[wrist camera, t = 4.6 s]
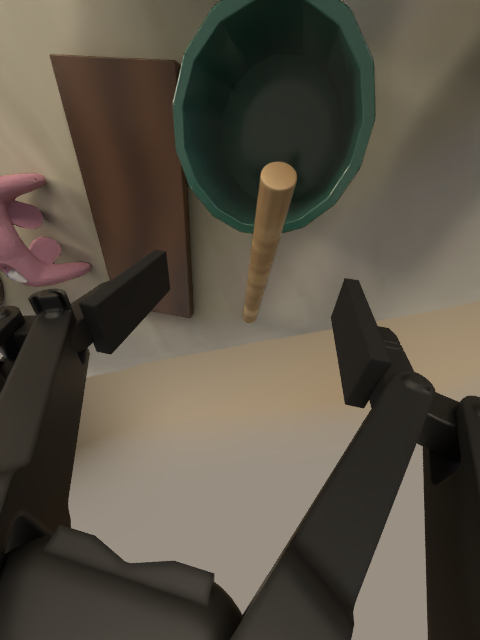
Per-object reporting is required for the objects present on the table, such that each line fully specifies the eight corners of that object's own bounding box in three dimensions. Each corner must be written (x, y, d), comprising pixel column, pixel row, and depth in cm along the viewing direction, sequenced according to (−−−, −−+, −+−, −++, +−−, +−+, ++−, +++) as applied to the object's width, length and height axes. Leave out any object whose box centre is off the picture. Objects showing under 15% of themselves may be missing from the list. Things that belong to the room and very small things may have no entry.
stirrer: (221, 179, 20) (242, 320, 27) (263, 162, 9) (284, 419, 15) (237, 177, 20) (255, 317, 27) (301, 156, 9) (306, 414, 15)
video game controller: (29, 174, 24) (-67, 188, 20) (43, 168, 21) (-65, 182, 17) (81, 268, 30) (13, 295, 25) (98, 273, 27) (25, 303, 23)
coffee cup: (216, 201, 21) (180, 224, 15) (218, 43, 15) (162, -25, 9) (326, 214, 19) (336, 245, 13) (369, 48, 14) (419, -24, 8)
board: (121, 300, 29) (116, 304, 28) (60, 58, 17) (48, 54, 17) (193, 313, 28) (190, 318, 27) (181, 64, 16) (175, 59, 15)
